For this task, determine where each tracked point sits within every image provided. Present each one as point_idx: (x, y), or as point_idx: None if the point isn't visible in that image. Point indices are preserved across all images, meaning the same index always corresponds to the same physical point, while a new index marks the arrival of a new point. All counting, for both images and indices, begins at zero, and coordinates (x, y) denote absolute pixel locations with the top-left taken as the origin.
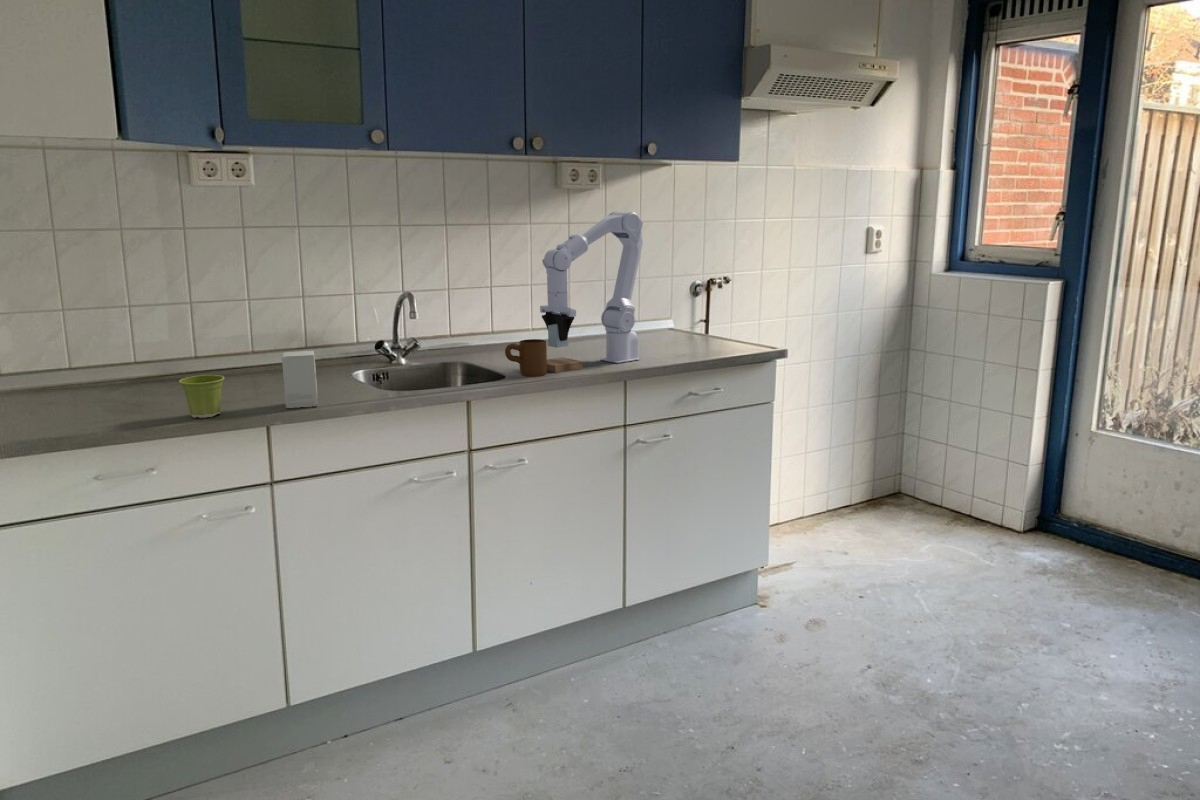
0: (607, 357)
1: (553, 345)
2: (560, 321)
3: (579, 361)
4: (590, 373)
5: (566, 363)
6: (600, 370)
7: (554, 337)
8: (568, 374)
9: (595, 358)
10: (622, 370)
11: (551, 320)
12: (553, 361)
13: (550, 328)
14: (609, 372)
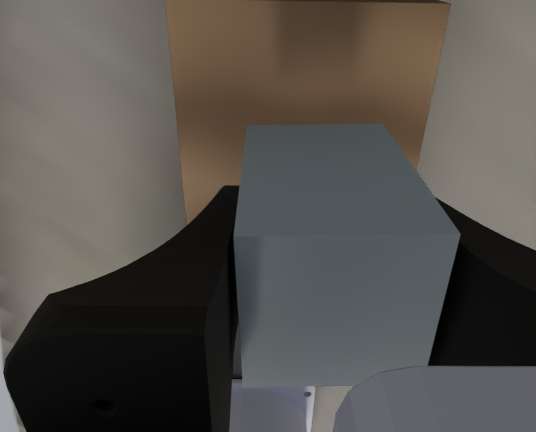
0: (267, 398)
1: (305, 129)
2: (73, 289)
3: None
4: (31, 154)
5: (197, 125)
6: (87, 243)
7: (287, 161)
8: (71, 28)
9: None
10: (28, 308)
11: (483, 347)
12: (327, 108)
13: (386, 212)
14: (8, 241)
